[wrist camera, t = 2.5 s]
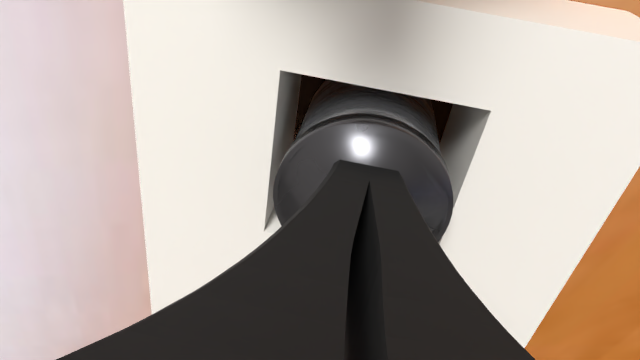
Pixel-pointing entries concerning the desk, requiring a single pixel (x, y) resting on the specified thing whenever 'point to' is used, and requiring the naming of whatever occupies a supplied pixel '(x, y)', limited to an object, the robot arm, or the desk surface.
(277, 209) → the graphite plug
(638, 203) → the desk surface
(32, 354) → the desk surface
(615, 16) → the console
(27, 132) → the desk surface
